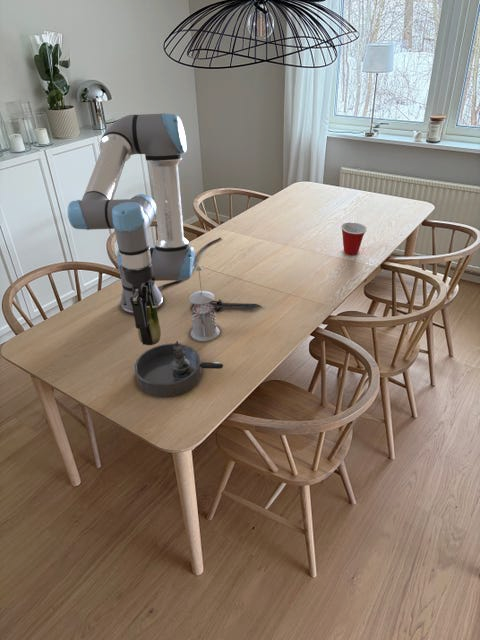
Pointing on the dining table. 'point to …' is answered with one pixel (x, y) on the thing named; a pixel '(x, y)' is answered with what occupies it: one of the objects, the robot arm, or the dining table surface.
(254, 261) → the dining table surface
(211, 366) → the pan handle
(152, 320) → the fennel bulb
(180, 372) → the salt shaker
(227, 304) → the knife
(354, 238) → the plastic cup
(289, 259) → the dining table surface
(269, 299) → the dining table surface
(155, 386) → the pan
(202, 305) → the french press
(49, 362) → the dining table surface
